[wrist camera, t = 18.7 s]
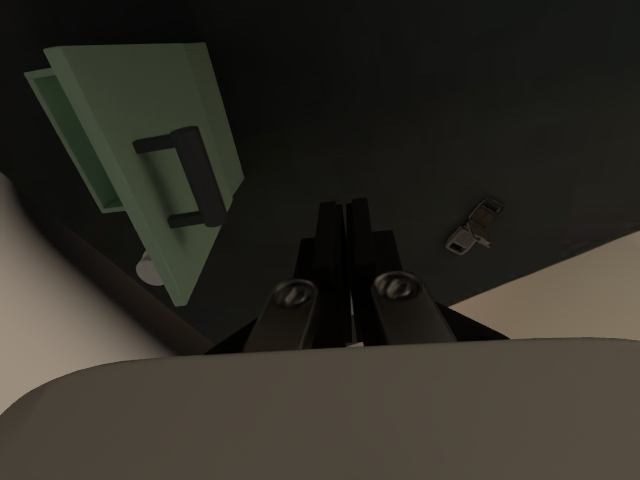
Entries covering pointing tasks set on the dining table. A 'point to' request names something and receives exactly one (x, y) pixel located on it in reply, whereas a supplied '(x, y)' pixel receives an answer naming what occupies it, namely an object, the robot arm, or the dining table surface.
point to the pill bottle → (148, 271)
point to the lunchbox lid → (152, 148)
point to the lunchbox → (84, 153)
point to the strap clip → (474, 228)
